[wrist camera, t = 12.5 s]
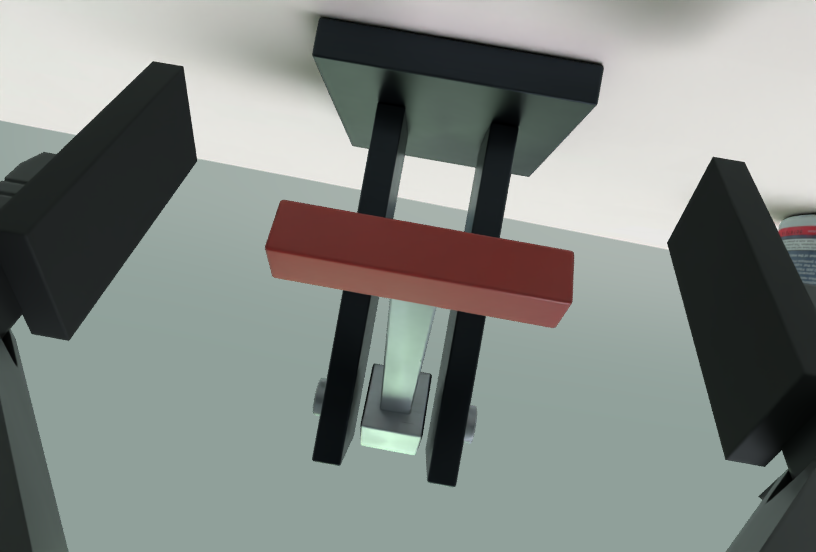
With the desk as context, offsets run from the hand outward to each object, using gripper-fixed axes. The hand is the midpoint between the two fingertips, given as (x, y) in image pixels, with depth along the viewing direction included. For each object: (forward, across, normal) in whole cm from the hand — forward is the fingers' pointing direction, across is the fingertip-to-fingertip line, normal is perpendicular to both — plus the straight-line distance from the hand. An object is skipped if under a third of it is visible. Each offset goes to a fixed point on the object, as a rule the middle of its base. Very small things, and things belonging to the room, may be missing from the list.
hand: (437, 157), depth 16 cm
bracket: (+8, 0, -3) cm, 9 cm away
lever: (-1, 0, -6) cm, 6 cm away
